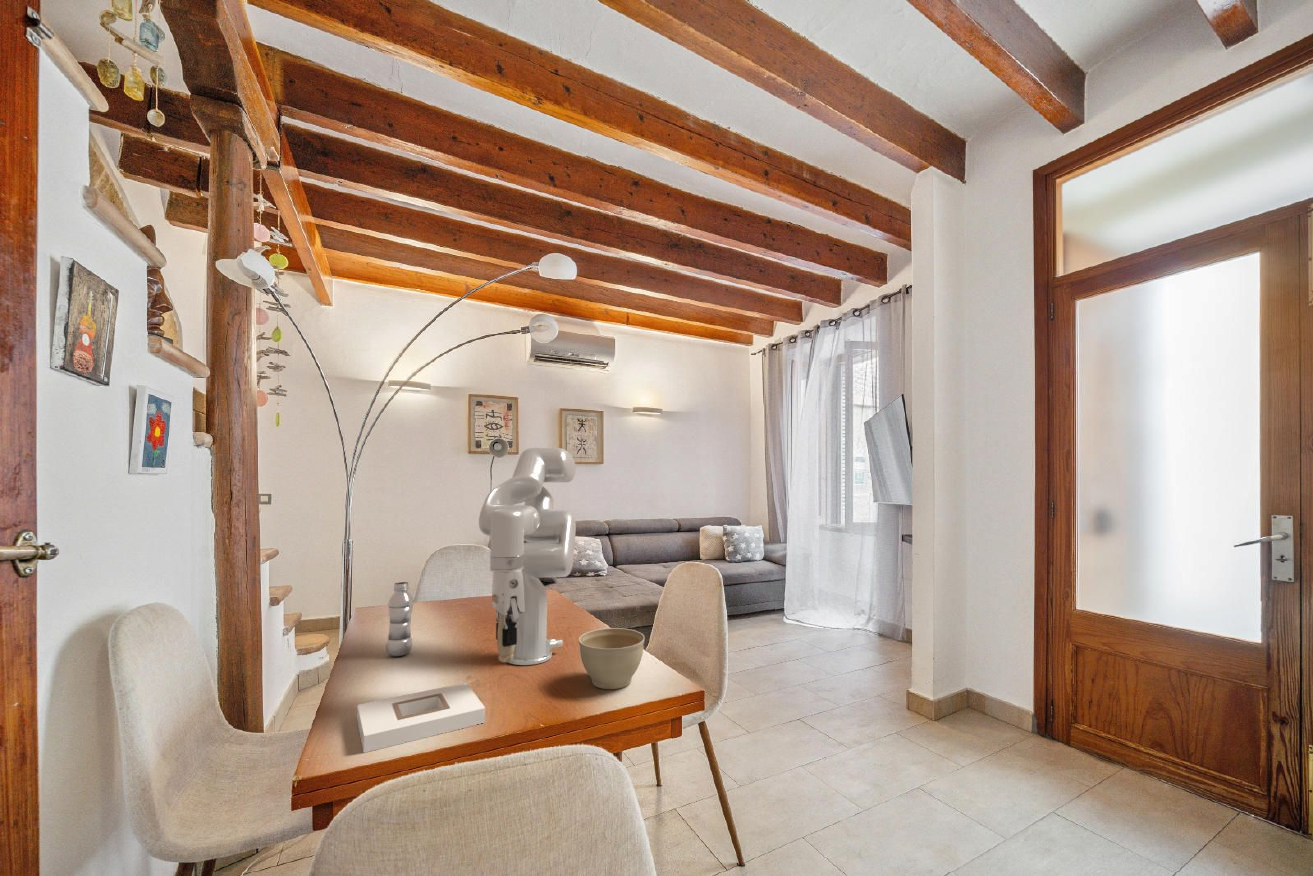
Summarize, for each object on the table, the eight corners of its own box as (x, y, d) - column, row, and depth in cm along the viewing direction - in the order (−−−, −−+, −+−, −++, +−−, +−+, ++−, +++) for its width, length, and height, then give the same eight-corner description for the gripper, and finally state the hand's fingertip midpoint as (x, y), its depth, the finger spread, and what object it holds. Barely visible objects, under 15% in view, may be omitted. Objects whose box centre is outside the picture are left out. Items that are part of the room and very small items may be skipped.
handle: (516, 664, 122) (516, 598, 122) (488, 664, 122) (489, 597, 122) (522, 656, 126) (523, 592, 127) (496, 656, 127) (496, 592, 127)
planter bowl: (571, 675, 136) (572, 632, 137) (631, 667, 142) (631, 625, 143) (587, 700, 121) (588, 651, 122) (654, 690, 127) (654, 643, 128)
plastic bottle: (391, 651, 154) (393, 581, 156) (415, 651, 155) (417, 580, 156) (381, 659, 148) (384, 585, 149) (407, 658, 148) (409, 585, 150)
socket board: (465, 696, 124) (466, 681, 124) (485, 723, 110) (485, 707, 110) (356, 719, 112) (357, 703, 112) (363, 753, 98) (364, 735, 99)
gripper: (535, 567, 120) (534, 650, 119) (511, 555, 134) (510, 629, 133) (501, 571, 116) (501, 657, 115) (480, 558, 130) (480, 634, 129)
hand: (506, 641), depth 124 cm, fingers closed on handle, 4 cm apart
